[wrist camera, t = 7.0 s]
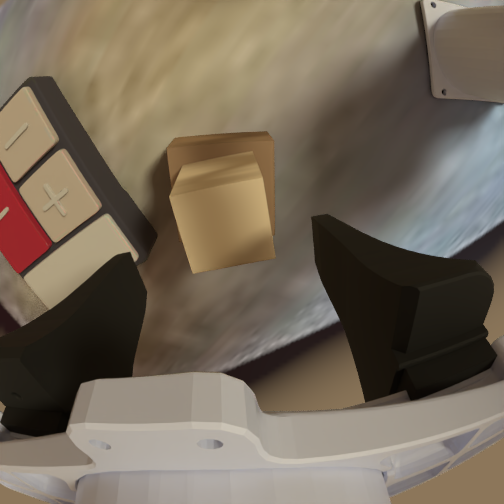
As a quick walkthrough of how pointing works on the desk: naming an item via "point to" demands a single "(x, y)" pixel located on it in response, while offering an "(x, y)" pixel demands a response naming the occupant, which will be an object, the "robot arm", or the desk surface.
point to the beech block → (222, 212)
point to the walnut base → (225, 145)
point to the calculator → (60, 196)
